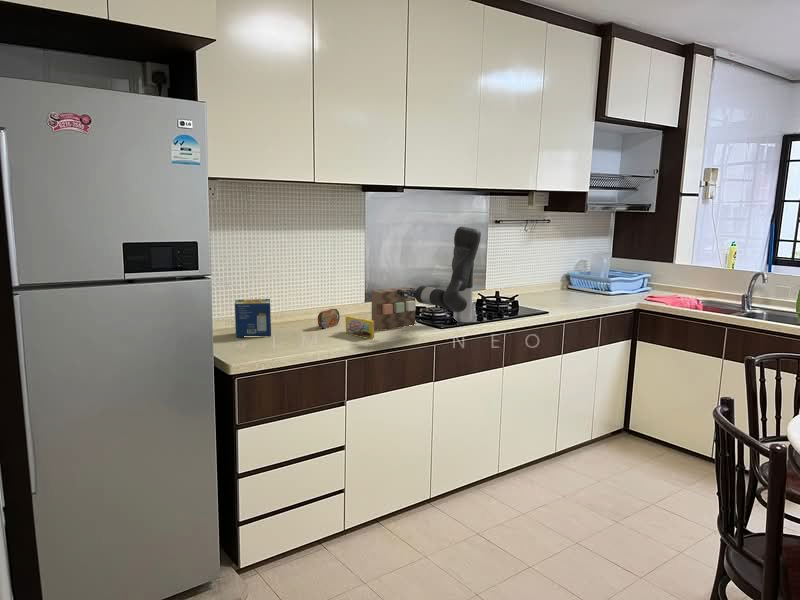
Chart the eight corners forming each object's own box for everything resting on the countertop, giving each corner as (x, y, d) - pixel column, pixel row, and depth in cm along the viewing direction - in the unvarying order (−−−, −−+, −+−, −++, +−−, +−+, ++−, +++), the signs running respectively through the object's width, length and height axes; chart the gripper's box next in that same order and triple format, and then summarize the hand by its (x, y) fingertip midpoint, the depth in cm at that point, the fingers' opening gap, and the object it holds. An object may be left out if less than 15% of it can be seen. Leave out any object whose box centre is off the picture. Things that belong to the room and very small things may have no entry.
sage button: (400, 310, 282) (400, 301, 282) (404, 311, 280) (404, 302, 279) (393, 311, 280) (393, 302, 279) (397, 312, 277) (397, 303, 277)
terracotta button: (388, 312, 278) (388, 303, 277) (392, 313, 276) (392, 304, 275) (381, 313, 275) (381, 304, 275) (385, 314, 273) (385, 305, 272)
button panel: (405, 322, 293) (406, 286, 290) (414, 325, 288) (415, 288, 285) (371, 328, 280) (371, 290, 277) (380, 330, 275) (380, 292, 272)
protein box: (236, 333, 268) (235, 299, 265) (271, 331, 271) (270, 298, 268) (235, 338, 258) (234, 303, 255) (271, 337, 261) (270, 302, 258)
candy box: (345, 334, 268) (345, 316, 267) (348, 333, 270) (348, 315, 268) (371, 339, 258) (371, 321, 256) (374, 338, 259) (374, 320, 258)
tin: (321, 330, 275) (321, 312, 274) (316, 329, 277) (316, 311, 275) (340, 324, 288) (340, 307, 287) (335, 323, 290) (334, 307, 288)
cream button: (411, 309, 287) (411, 300, 286) (415, 310, 284) (415, 301, 283) (404, 310, 284) (404, 301, 283) (408, 311, 282) (408, 302, 281)
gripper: (441, 285, 255) (416, 281, 267) (415, 288, 246) (391, 283, 259) (440, 302, 256) (416, 297, 269) (415, 306, 247) (391, 300, 260)
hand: (404, 290), depth 264 cm, fingers open, 6 cm apart
